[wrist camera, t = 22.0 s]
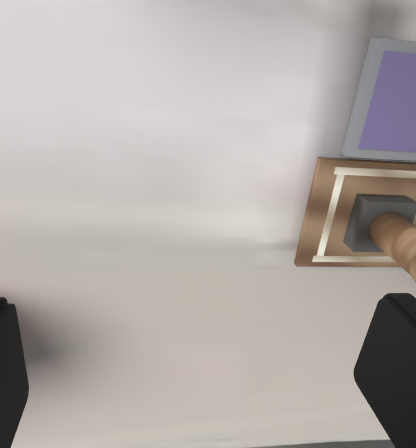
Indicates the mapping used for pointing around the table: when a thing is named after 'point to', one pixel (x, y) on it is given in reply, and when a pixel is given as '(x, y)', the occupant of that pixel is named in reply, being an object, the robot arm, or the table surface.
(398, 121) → the ink pad
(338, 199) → the marked board
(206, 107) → the table surface
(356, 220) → the stamp
